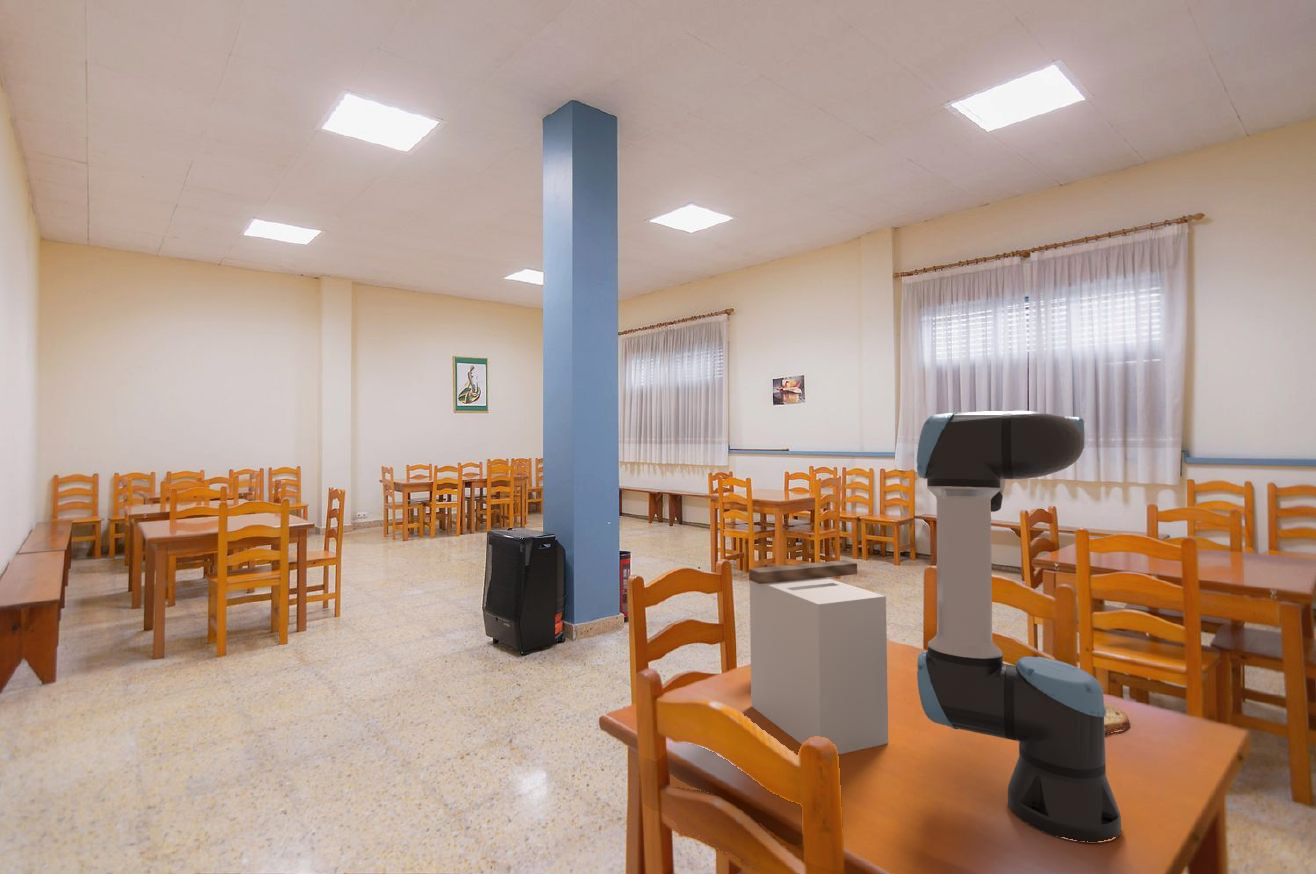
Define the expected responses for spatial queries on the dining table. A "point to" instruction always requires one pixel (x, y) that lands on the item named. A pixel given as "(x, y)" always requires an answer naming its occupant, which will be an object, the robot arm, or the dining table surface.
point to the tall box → (820, 661)
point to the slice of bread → (1115, 719)
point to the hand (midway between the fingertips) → (970, 577)
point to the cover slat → (802, 571)
